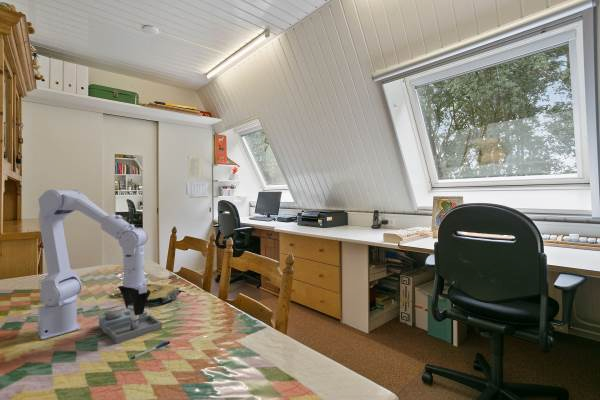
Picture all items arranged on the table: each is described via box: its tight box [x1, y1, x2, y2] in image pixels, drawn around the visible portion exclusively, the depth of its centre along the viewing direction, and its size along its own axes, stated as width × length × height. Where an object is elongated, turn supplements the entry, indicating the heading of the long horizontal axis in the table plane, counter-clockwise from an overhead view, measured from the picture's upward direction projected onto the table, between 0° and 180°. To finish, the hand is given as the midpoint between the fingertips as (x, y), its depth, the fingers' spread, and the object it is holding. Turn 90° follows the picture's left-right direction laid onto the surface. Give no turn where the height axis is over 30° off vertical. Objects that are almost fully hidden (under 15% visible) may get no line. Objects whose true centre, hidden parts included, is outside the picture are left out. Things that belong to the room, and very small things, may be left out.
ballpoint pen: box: [130, 340, 171, 360], centre depth 82 cm, size 10×1×1 cm, turn 144°
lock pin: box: [127, 303, 139, 331], centre depth 93 cm, size 4×4×8 cm
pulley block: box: [117, 283, 186, 307], centre depth 122 cm, size 14×6×30 cm
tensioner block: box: [98, 309, 148, 334], centre depth 98 cm, size 12×7×4 cm, turn 138°
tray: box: [105, 314, 163, 345], centre depth 93 cm, size 13×9×2 cm
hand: (134, 310), depth 93 cm, fingers open, 7 cm apart
